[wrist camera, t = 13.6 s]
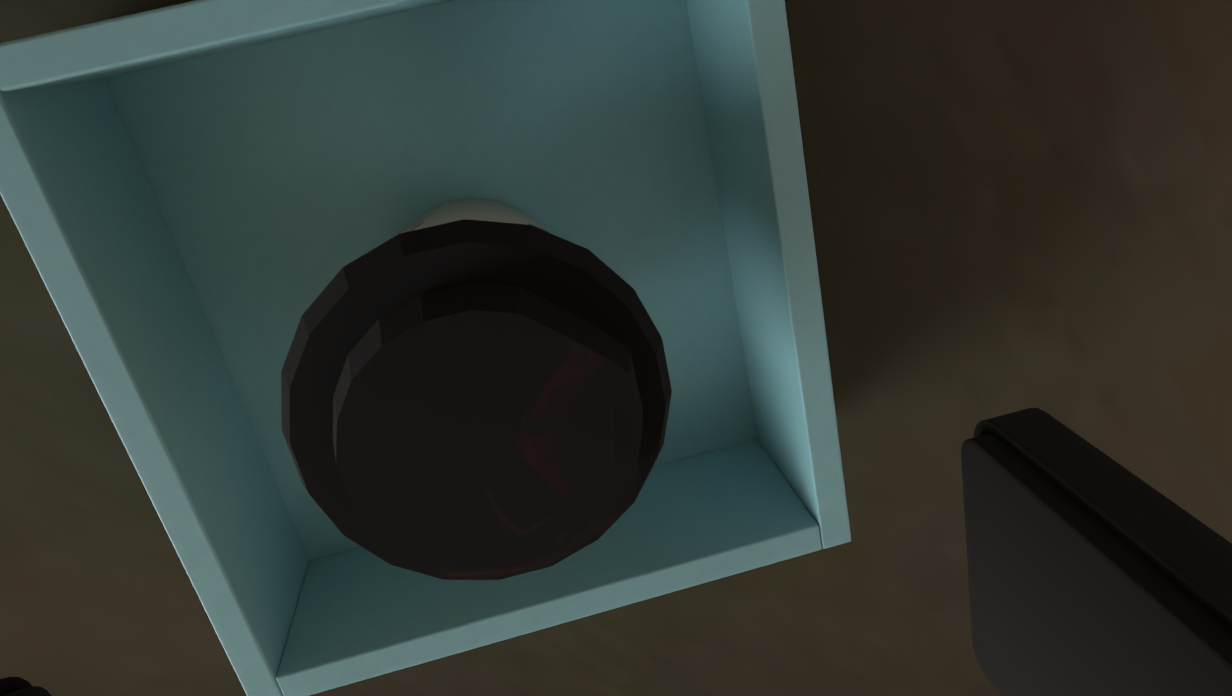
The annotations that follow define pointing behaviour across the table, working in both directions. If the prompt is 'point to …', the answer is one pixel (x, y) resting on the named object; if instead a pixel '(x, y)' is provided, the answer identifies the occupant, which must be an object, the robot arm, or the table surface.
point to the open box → (384, 207)
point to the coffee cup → (475, 395)
